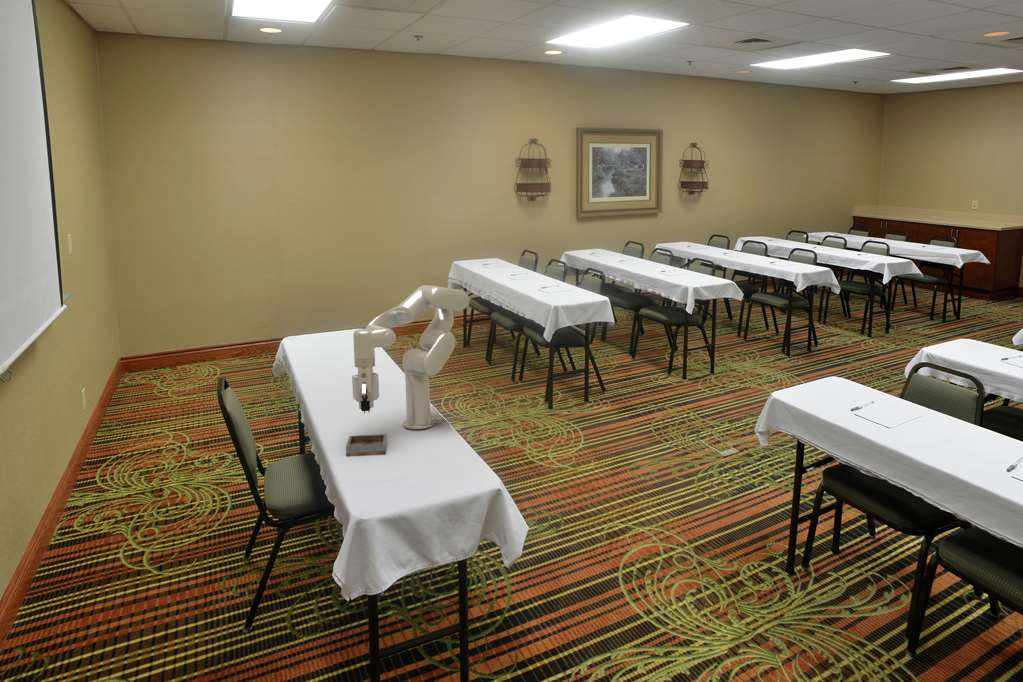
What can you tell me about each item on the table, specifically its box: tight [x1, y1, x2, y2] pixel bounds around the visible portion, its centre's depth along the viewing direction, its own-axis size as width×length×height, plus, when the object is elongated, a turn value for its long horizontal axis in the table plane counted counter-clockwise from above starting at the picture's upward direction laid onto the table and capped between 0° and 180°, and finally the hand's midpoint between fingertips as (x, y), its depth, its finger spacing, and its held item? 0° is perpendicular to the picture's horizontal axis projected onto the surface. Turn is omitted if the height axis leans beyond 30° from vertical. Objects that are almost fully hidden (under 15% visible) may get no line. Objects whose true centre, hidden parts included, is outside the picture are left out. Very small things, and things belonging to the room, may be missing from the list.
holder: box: [345, 433, 388, 457], centre depth 248 cm, size 14×12×4 cm
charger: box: [351, 372, 380, 414], centre depth 250 cm, size 5×9×15 cm, turn 119°
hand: (366, 407), depth 251 cm, fingers closed on charger, 6 cm apart
